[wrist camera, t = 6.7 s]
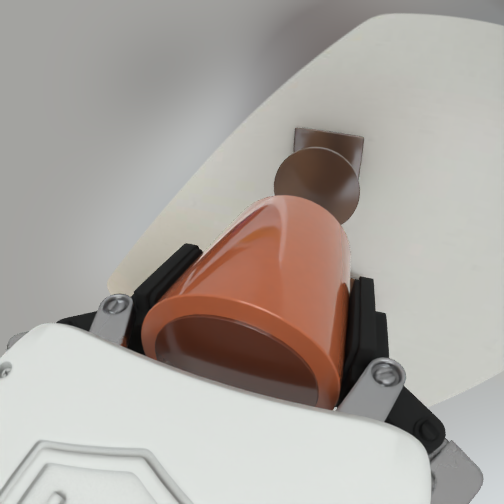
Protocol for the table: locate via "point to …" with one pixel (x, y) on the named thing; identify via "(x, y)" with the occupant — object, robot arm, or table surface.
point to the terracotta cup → (262, 305)
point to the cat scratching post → (323, 171)
